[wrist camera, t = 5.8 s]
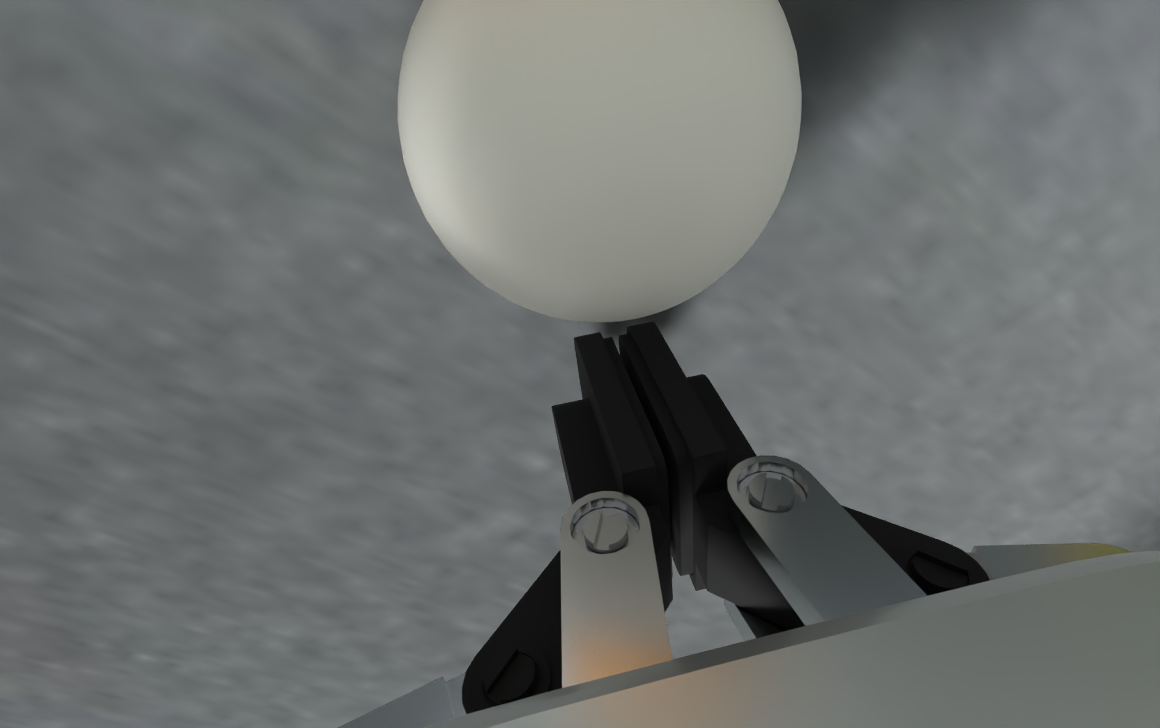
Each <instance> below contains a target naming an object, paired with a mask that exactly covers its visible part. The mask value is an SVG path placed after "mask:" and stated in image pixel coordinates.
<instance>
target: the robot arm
mask: <svg viewBox="0 0 1160 728" xmlns="http://www.w3.org/2000/svg"><path fill="white" fill-rule="evenodd" d="M574 344H575V351H576V358H577V364H578V371H579V378H580V385H581V391H582V398H583V400H578V401H574V402H569V403H564V404H559V405H555V406H552V412H553V418H554V423H555V428H556V433H557V439H558V444H559V449H560V453H561V458H562V463H563V467H564V472H565V476H566V480H567V485H568V489H569V493H570V498H571V502H572V505H571V506H570V507H569V508H568V510H567V511H566V513H565V515H564V516H563V518H562V523H561V529H560V541H561V550H560V551H559V552H558V553H557V555H556V556H555V557H554V558H553V560H552V561H551V562H550V563H549V565H548V566H547V567H546V568H545V570H544V571H543V572H542V573H541V575H540V576H539V577H538V578H537V580H536V581H535V582H534V583H533V585H532V586H531V587H530V588H529V590H528V591H527V592H526V593H525V595H524V596H523V597H522V598H521V600H520V601H519V602H518V604H517V605H516V606H515V607H514V609H513V610H512V611H511V612H510V614H509V615H508V616H507V617H506V619H505V620H504V621H503V622H502V624H501V625H500V626H499V627H498V629H497V630H496V631H495V632H494V634H493V635H492V636H491V637H490V639H489V640H488V641H487V642H486V644H485V645H484V646H483V647H482V649H481V650H480V651H479V652H478V654H477V655H476V656H475V658H474V659H473V661H472V663H471V664H470V666H469V667H468V669H467V671H466V672H465V673H463V674H461V675H459V676H457V677H455V678H453V679H451V680H449V681H447V682H445V680H444V678H443V677H441V678H439V679H436V680H434V681H432V682H430V683H428V684H426V685H424V686H422V687H420V688H418V689H416V690H414V691H412V692H410V693H408V694H406V695H404V696H402V697H400V698H398V699H396V700H394V701H391V702H389V703H387V704H385V705H383V706H381V707H379V708H377V709H375V710H373V711H371V712H369V713H367V714H365V715H363V716H361V717H359V718H357V719H355V720H353V721H351V722H349V723H346V724H344V725H342V726H340V727H338V728H1160V551H1143V552H1130V551H1127V550H1124V549H1122V548H1119V547H1116V546H1113V545H1107V544H1099V543H1069V544H1030V545H991V546H974V547H973V549H972V552H971V553H965V552H964V551H963V550H961V549H959V548H957V547H955V546H953V545H950V544H948V543H946V542H944V541H941V540H938V539H935V538H932V537H929V536H927V535H924V534H921V533H918V532H915V531H912V530H910V529H907V528H904V527H901V526H898V525H895V524H893V523H890V522H887V521H884V520H881V519H879V518H876V517H873V516H870V515H867V514H864V513H862V512H859V511H856V510H853V509H850V508H847V507H845V506H842V505H840V504H839V503H838V502H837V501H836V499H835V498H834V497H833V496H832V495H831V494H830V493H829V492H828V491H827V490H826V489H825V488H824V487H823V486H822V485H821V484H820V483H819V482H818V481H817V480H816V479H815V477H814V476H813V475H812V474H811V473H810V472H809V471H807V470H806V469H805V468H804V467H802V466H801V465H800V464H798V463H796V462H793V461H791V460H789V459H787V458H782V457H778V456H756V454H755V452H754V451H753V449H752V448H751V446H750V444H749V443H748V441H747V440H746V438H745V436H744V435H743V433H742V432H741V430H740V428H739V427H738V425H737V424H736V422H735V420H734V419H733V417H732V416H731V414H730V412H729V411H728V409H727V408H726V406H725V404H724V403H723V401H722V400H721V398H720V396H719V395H718V393H717V392H716V390H715V388H714V387H713V385H712V384H711V382H710V380H709V379H708V378H707V377H706V375H703V374H701V375H697V376H692V377H687V378H686V376H685V374H684V373H683V371H682V369H681V367H680V366H679V364H678V362H677V360H676V359H675V357H674V355H673V353H672V352H671V350H670V348H669V347H668V345H667V343H666V341H665V340H664V338H663V336H662V334H661V333H660V331H659V329H658V327H657V326H656V324H655V323H654V322H648V323H643V324H638V325H633V326H628V327H627V334H624V335H619V351H620V355H619V352H618V350H617V348H616V346H615V343H614V341H613V339H612V337H609V338H604V339H603V337H602V335H601V333H600V332H599V333H594V334H589V335H584V336H579V337H574ZM672 558H673V560H674V563H675V565H676V568H677V571H678V573H679V575H680V576H683V575H687V574H689V575H690V578H691V580H692V583H693V585H694V588H695V590H696V591H697V590H701V589H707V591H709V592H711V593H713V594H715V595H717V596H719V597H721V598H724V605H725V607H726V609H727V612H728V614H729V616H730V617H731V619H732V621H733V622H734V624H735V625H736V627H737V629H738V630H739V632H740V633H741V635H742V637H743V638H744V640H745V641H744V642H740V643H736V644H733V645H729V646H725V647H721V648H717V649H713V650H709V651H705V652H701V653H697V654H693V655H689V656H685V657H681V658H677V659H673V660H672V655H671V649H670V643H669V636H668V630H667V624H666V618H665V611H666V610H667V608H668V606H669V605H670V603H671V601H672V600H673V594H672V575H673V574H672Z"/></svg>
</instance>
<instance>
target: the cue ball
mask: <svg viewBox="0 0 1160 728" xmlns="http://www.w3.org/2000/svg"><path fill="white" fill-rule="evenodd" d="M801 105H802V91H801V83H800V75H799V67H798V59H797V52H796V48H795V45H794V41H793V38H792V35H791V31H790V28H789V25H788V22H787V20H786V17H785V14H784V11H783V9H782V7H781V5H780V3H779V1H778V0H423V2H422V5H421V7H420V9H419V11H418V13H417V15H416V18H415V20H414V22H413V25H412V27H411V30H410V33H409V37H408V40H407V43H406V47H405V50H404V53H403V58H402V65H401V72H400V78H399V88H398V127H399V134H400V141H401V148H402V154H403V160H404V164H405V167H406V170H407V174H408V177H409V180H410V184H411V186H412V189H413V191H414V194H415V196H416V199H417V201H418V203H419V205H420V207H421V209H422V211H423V213H424V216H425V218H426V219H427V221H428V222H429V224H430V225H431V227H432V228H433V230H434V231H435V233H436V234H437V236H438V237H439V239H440V240H441V242H442V243H443V245H444V246H445V248H446V249H447V250H448V251H449V252H450V253H451V254H452V256H453V257H454V258H455V259H456V260H457V261H458V262H459V263H460V264H461V265H462V266H463V267H464V268H465V269H466V270H467V271H468V272H469V273H470V274H471V275H473V276H474V277H475V278H476V279H477V280H479V281H480V282H481V283H482V284H483V285H485V286H486V287H488V288H489V289H491V290H493V291H494V292H496V293H498V294H499V295H501V296H502V297H504V298H506V299H507V300H509V301H511V302H513V303H515V304H517V305H519V306H521V307H523V308H526V309H528V310H532V311H535V312H538V313H541V314H544V315H547V316H550V317H554V318H558V319H563V320H568V321H577V322H616V321H625V320H631V319H637V318H641V317H645V316H649V315H652V314H655V313H658V312H661V311H664V310H667V309H669V308H671V307H674V306H676V305H678V304H681V303H682V302H684V301H686V300H688V299H690V298H692V297H694V296H695V295H697V294H698V293H700V292H702V291H703V290H705V289H706V288H708V287H709V286H710V285H712V284H713V283H714V282H715V281H717V280H718V279H719V278H721V277H722V276H723V275H724V274H725V273H726V272H727V271H728V270H729V269H731V268H732V267H733V266H734V265H735V264H736V263H737V262H738V261H739V260H740V259H741V258H742V257H743V256H744V255H745V253H746V252H747V251H748V250H749V249H750V248H751V247H752V245H753V244H754V243H755V241H756V240H757V238H758V237H759V236H760V234H761V233H762V231H763V230H764V228H765V226H766V225H767V223H768V221H769V220H770V218H771V216H772V215H773V213H774V211H775V209H776V208H777V206H778V204H779V201H780V199H781V197H782V195H783V193H784V190H785V188H786V185H787V181H788V178H789V175H790V172H791V169H792V166H793V162H794V159H795V156H796V151H797V145H798V139H799V133H800V123H801Z"/></svg>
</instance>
